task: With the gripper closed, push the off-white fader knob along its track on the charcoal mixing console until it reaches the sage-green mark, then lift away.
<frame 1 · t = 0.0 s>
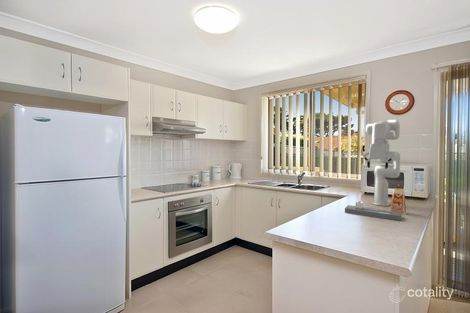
hand: (377, 168, 164), 31 cm above the countertop, tool pointing down, fingers open, 9 cm apart
fader: (359, 204, 172), point 6 cm above the countertop, slide at 0.0 cm
milk carton: (397, 212, 176), on the countertop
console: (372, 214, 168), on the countertop
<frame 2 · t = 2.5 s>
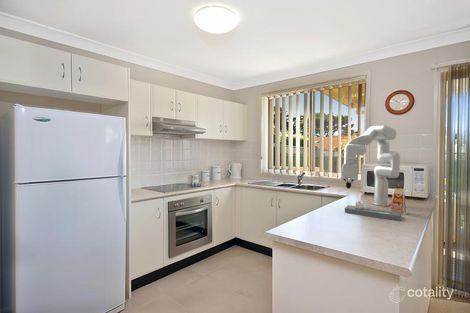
hand: (348, 188, 176), 16 cm above the countertop, tool pointing down, fingers closed
nothing on the countertop moved.
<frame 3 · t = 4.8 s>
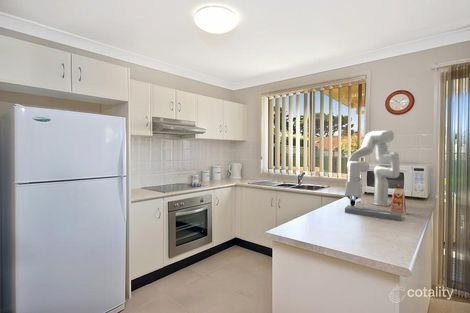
hand: (352, 205, 175), 4 cm above the countertop, tool pointing down, fingers closed
fader: (359, 204, 172), point 6 cm above the countertop, slide at 0.2 cm, touching gripper
everything else where it was.
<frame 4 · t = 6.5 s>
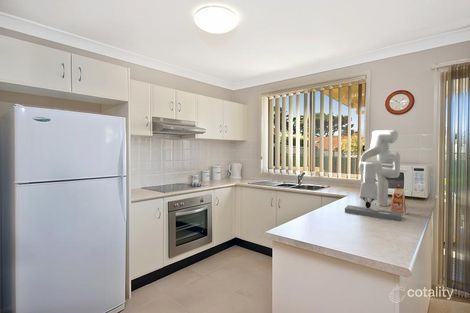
hand: (367, 207, 169), 4 cm above the countertop, tool pointing down, fingers closed
fader: (375, 206, 167), point 6 cm above the countertop, slide at 9.7 cm, touching gripper
everything else where it was.
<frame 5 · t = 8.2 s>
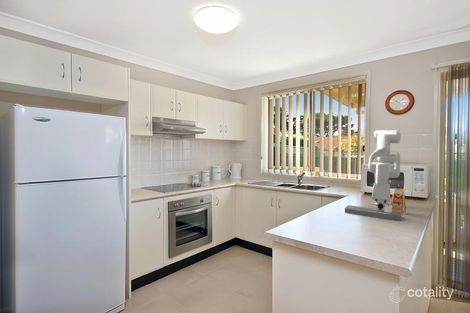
hand: (380, 209, 165), 4 cm above the countertop, tool pointing down, fingers closed
fader: (388, 208, 163), point 6 cm above the countertop, slide at 16.9 cm, touching gripper
everything else where it was.
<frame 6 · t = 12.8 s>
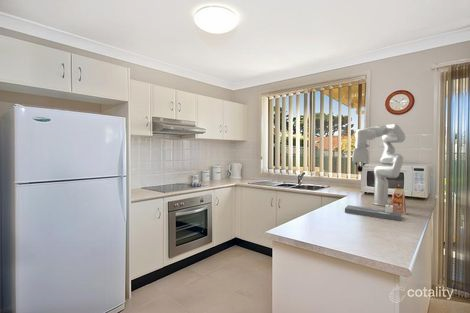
hand: (359, 171, 183), 27 cm above the countertop, tool pointing down, fingers closed
fader: (389, 208, 163), point 6 cm above the countertop, slide at 17.4 cm
everything else where it was.
at the end: fader slide at 17.4 cm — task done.
